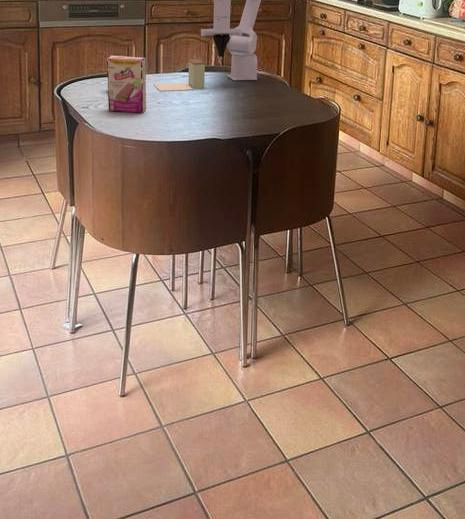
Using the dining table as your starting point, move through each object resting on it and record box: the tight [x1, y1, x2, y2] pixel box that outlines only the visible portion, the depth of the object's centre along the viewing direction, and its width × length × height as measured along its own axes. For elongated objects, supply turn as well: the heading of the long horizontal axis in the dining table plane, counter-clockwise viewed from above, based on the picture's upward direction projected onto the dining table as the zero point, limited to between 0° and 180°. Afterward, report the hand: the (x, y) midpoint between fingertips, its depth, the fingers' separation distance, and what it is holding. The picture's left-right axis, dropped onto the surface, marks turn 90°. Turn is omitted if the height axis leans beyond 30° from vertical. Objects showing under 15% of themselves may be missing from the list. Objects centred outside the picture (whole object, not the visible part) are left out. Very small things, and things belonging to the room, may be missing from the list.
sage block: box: [188, 58, 206, 90], centre depth 259 cm, size 4×7×9 cm, turn 18°
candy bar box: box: [106, 55, 147, 114], centre depth 225 cm, size 11×5×16 cm, turn 84°
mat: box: [153, 82, 194, 92], centre depth 259 cm, size 12×10×1 cm
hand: (220, 56), depth 259 cm, fingers closed
